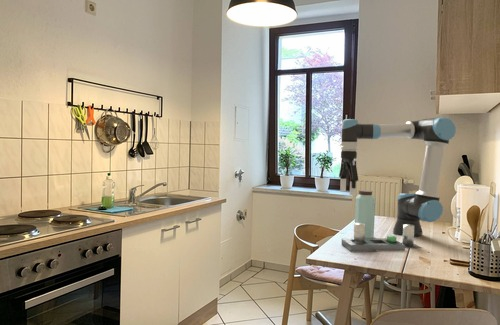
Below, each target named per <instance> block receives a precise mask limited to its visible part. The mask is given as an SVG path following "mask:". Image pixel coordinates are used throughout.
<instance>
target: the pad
mask: <svg viewBox="0 0 500 325" xmlns="http://www.w3.org/2000/svg"><path fill="white" fill-rule="evenodd" d="M405 249H423V247H421V246H420V245H418V244H416V243H414V245H413V247H407V246H405Z"/></svg>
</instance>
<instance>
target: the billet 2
mask: <svg viewBox="0 0 500 325" xmlns="http://www.w3.org/2000/svg"><path fill="white" fill-rule="evenodd" d="M414 239H415V237H414V225H411V224H403V236H402V241H401V243H402V244H404V245H405V246H407V247H413V245H414V244H415V243H414V241H415V240H414Z"/></svg>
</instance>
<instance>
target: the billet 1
mask: <svg viewBox="0 0 500 325" xmlns="http://www.w3.org/2000/svg"><path fill="white" fill-rule="evenodd" d="M353 238H354V241H353V242H354V243H355V244H364V241H365V224H363V223H355V222H354V224H353Z"/></svg>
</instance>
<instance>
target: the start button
mask: <svg viewBox="0 0 500 325" xmlns="http://www.w3.org/2000/svg"><path fill="white" fill-rule="evenodd" d="M386 238H387V241H388V242H396V241H397V236H395V235H387V236H386Z"/></svg>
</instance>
